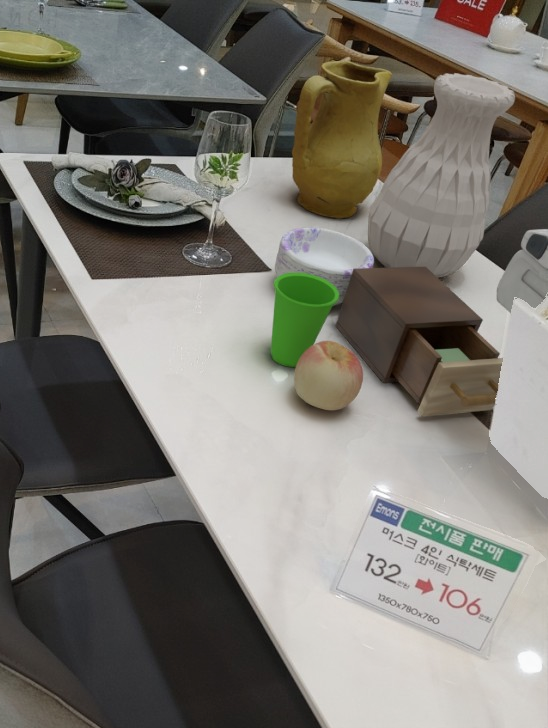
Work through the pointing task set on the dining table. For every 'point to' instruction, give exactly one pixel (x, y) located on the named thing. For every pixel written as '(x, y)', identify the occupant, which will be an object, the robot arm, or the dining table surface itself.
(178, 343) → the dining table surface
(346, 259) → the paper bowls
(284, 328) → the cup
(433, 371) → the drawer
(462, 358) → the block
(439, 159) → the vase
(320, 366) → the apple
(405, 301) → the cabinet
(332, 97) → the pitcher
